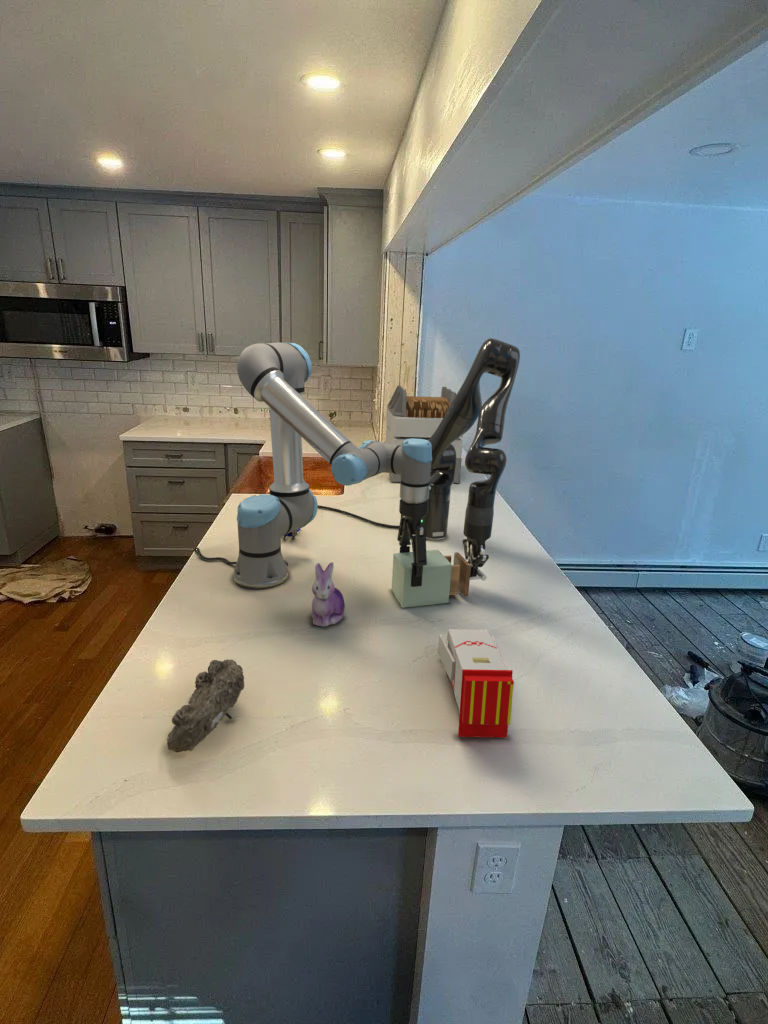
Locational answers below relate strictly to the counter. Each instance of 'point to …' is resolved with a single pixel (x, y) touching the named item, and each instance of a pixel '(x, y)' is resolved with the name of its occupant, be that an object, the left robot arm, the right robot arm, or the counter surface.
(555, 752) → the counter surface
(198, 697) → the fossil
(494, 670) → the toy
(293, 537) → the figurine character
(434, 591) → the sage green cube
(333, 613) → the figurine
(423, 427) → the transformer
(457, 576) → the drawer
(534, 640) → the counter surface
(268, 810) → the counter surface
